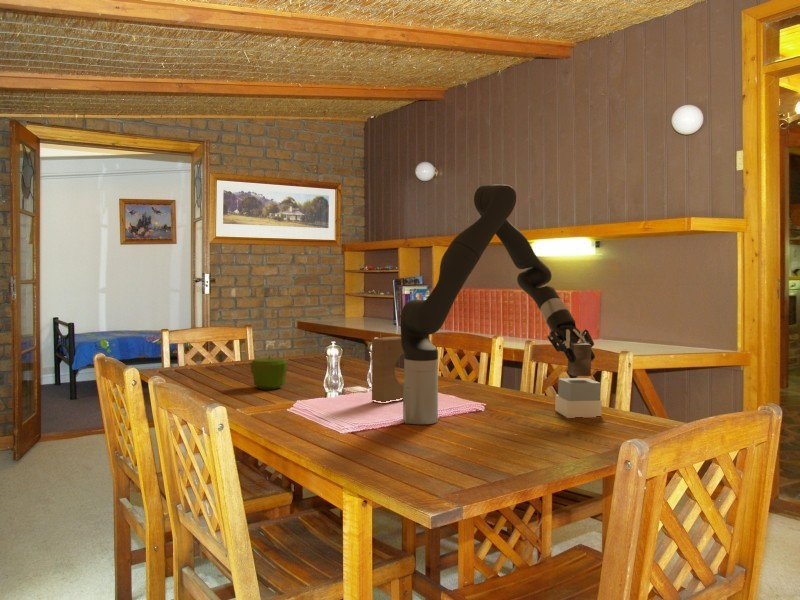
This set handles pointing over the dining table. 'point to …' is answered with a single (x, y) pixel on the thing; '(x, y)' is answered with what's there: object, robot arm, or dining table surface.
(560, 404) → the tower base
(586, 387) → the tower top
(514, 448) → the dining table surface
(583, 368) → the oak pillar
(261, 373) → the apple
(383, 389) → the decorative block
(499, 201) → the robot arm
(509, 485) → the dining table surface
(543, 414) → the dining table surface
